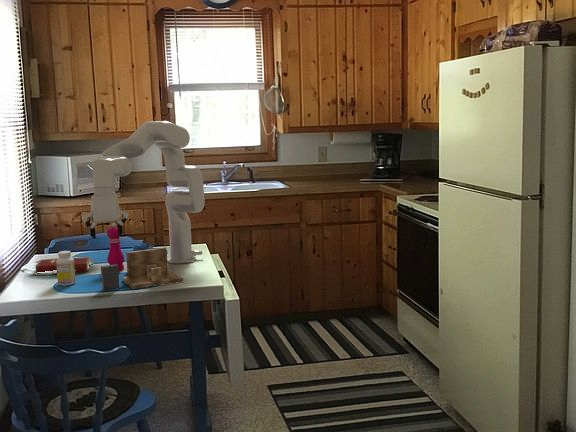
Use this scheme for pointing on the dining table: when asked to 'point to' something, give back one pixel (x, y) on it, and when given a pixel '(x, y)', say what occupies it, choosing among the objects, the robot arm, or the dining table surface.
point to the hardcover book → (50, 265)
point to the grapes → (141, 247)
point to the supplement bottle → (65, 269)
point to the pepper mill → (115, 248)
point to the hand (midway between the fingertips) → (106, 237)
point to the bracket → (110, 277)
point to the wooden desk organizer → (149, 269)
